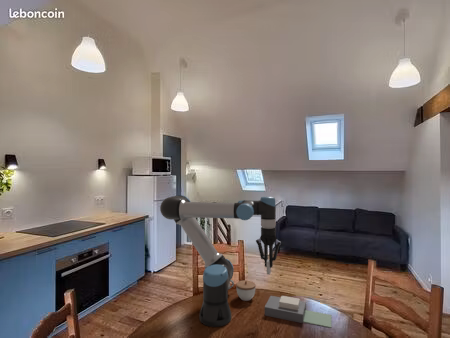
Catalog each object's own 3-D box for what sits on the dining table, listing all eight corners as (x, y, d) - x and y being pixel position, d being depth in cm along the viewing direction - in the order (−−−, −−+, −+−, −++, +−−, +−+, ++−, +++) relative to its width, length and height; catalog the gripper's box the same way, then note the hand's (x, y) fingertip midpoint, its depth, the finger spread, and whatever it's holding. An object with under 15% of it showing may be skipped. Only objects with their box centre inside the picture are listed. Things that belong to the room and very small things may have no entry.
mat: (303, 322, 121) (303, 321, 121) (305, 310, 131) (305, 310, 131) (331, 327, 116) (331, 327, 116) (331, 315, 126) (331, 314, 126)
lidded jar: (253, 304, 138) (253, 286, 138) (233, 301, 141) (233, 283, 142) (257, 295, 148) (257, 278, 149) (239, 292, 152) (238, 276, 152)
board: (264, 315, 127) (264, 306, 127) (270, 303, 139) (270, 295, 139) (303, 323, 120) (302, 314, 120) (305, 309, 132) (305, 301, 132)
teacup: (208, 290, 154) (208, 277, 154) (221, 285, 162) (221, 272, 162) (225, 298, 145) (225, 283, 145) (238, 291, 153) (238, 278, 153)
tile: (279, 306, 127) (279, 301, 127) (281, 300, 134) (281, 295, 134) (298, 310, 124) (298, 305, 124) (300, 303, 130) (299, 298, 130)
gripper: (282, 226, 135) (282, 272, 134) (257, 224, 140) (258, 269, 139) (279, 229, 128) (280, 278, 127) (253, 227, 133) (254, 274, 132)
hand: (268, 273), depth 133 cm, fingers closed
